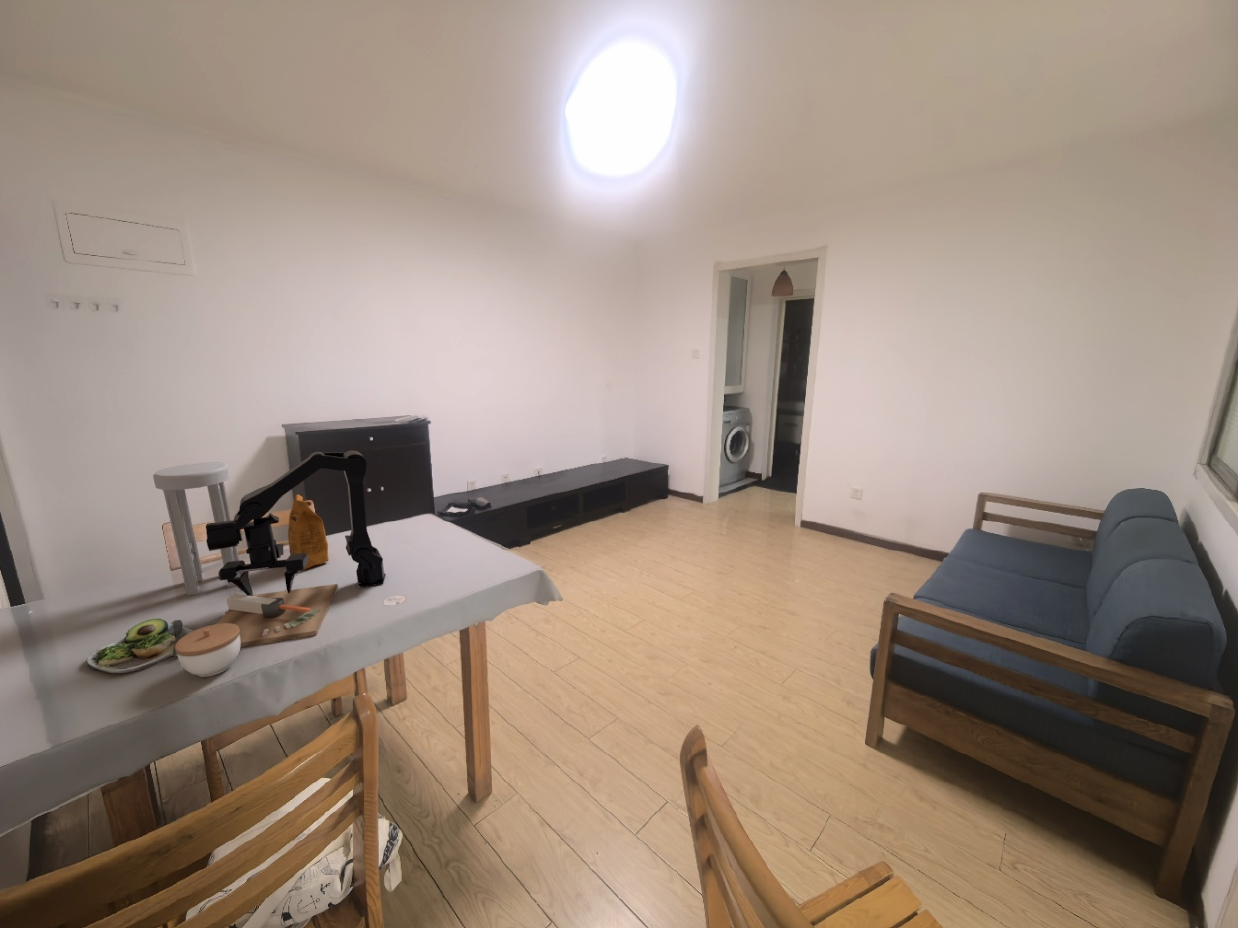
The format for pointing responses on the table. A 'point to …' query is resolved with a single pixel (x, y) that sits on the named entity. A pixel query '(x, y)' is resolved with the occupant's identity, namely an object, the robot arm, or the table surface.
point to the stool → (179, 514)
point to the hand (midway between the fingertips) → (270, 595)
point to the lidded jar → (209, 649)
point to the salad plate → (140, 646)
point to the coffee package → (307, 533)
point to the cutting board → (284, 616)
